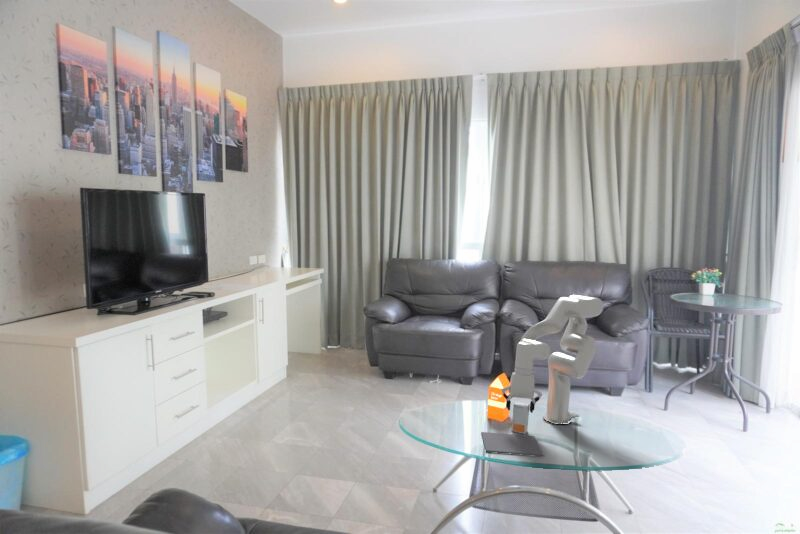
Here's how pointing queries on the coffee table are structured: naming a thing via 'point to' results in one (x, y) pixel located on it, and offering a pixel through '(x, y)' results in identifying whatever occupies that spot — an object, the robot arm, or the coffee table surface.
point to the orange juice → (498, 399)
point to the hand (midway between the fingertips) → (519, 410)
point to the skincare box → (520, 417)
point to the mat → (511, 444)
